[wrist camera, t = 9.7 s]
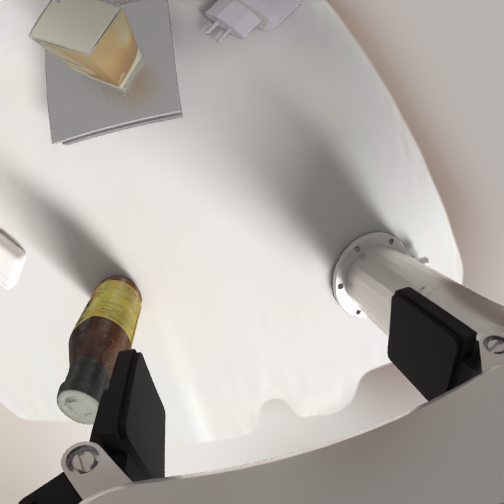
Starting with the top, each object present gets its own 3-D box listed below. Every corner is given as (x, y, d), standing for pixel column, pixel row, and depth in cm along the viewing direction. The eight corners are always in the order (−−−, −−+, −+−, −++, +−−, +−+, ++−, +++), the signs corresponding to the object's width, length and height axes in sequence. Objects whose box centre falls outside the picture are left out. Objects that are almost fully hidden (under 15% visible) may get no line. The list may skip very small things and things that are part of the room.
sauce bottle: (95, 272, 37) (32, 364, 18) (143, 276, 38) (110, 377, 19) (98, 318, 38) (51, 425, 20) (143, 322, 40) (120, 437, 21)
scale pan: (167, -2, 27) (166, -16, 24) (182, 115, 32) (180, 110, 29) (57, 28, 26) (46, 18, 22) (64, 144, 30) (52, 143, 27)
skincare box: (75, 72, 25) (22, 36, 14) (96, 37, 25) (55, -13, 13) (124, 92, 27) (88, 57, 16) (146, 55, 26) (124, 4, 15)
